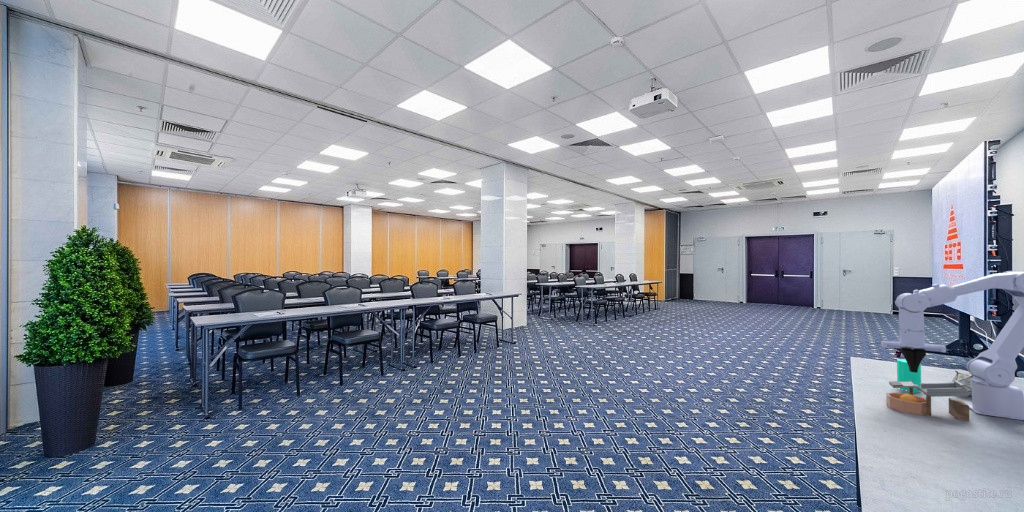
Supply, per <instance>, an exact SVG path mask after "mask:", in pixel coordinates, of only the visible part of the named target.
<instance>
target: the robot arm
mask: <svg viewBox="0 0 1024 512" xmlns="http://www.w3.org/2000/svg"><path fill="white" fill-rule="evenodd" d="M991 289H999V290H1001V289H1002V290H1003V291H1005V292H1007V293H1008V294H1009V295H1011V296H1012V297H1013V298H1014V299H1015V301H1016V302H1017V304H1018V305H1017V308H1016V309H1015V310H1014V312H1013V313H1012V315H1011V316H1010V317H1009V319H1008V321H1007V322H1006V323H1005V325H1004V327H1003V328H1002V329H1001V330H1000V332H999V333H998V334H997V336H996V338H995V339H994V340H993V342H992V344H991V345H990V346H989V348H988V349H986V350H983V351H982V352H979V353H978V355H977V356H976V357H975V358H972V359H971V360H969V361H968V362H967V364H966V370H967V371H968V372H969V373H968V374H971V375H973V377H972V395H971V396H972V397H971V400H972V403H971V404H968V403H967V404H968V405H969V410H972V411H973V412H974V413H976V414H977V415H984V416H991V417H998V418H1005V419H1006V418H1007V419H1012V420H1019V421H1024V393H1023V389H1021V387H1018V386H1014V385H1012V383H1013V382H1014V381H1015V378H1016V376H1015V373H1016V370H1017V369H1018V365H1017V362H1016V358H1017V357H1018V356H1019V354H1020V353H1021V352H1022V350H1023V349H1024V271H1017V270H1007V271H1003V272H998V273H992V274H989V275H985V276H981V277H979V278H974V279H971V280H969V281H966V282H961V283H958V284H954V285H952V286H951V285H948V284H947V285H946V284H939V283H934V284H931V287H927V288H923V289H914V290H913V291H912V292H913V293H910V292H905V293H901V294H899V295H898V296H897V297H896V300H894V304H895V306H896V307H897V308H898V327H899V328H898V330H899V332H898V333H899V341H892V340H891V341H890V340H881V341H880V344H881V347H882V348H883V349H884V348H885V349H886V348H891V349H899V351H900V352H901V354H902V356H903V357H904V359H906V361H907V364H908V366H909V371H911V372H915V373H917V371H918V367H919V365H920V363H921V364H922V361H923V359H924V358H925V357H926V355H927V352H926V351H929V352H940V353H947V345H943V344H935V343H934V344H933V343H926V336H925V335H926V333H925V316H924V315H925V314H924V311H925V310H926V309H927V308H932V307H935V306H940V305H944V304H948V303H952V302H955V301H956V299H957V298H958V297H959V296H964V295H969V294H972V293H977V292H978V293H979V292H982V291H987V290H991Z"/></svg>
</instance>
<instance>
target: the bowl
mask: <svg viewBox="0 0 1024 512" xmlns="http://www.w3.org/2000/svg"><path fill="white" fill-rule="evenodd" d="M904 394H905V393H902V392H886V396H885V397H886V405H887V406H888V408H890V409H892V410H896V411H898V412H902V413H905V414H913V415H919V416H925V415H926V416H927V413H926V397H921V396H919V395H914V394H913V395H912V396H914V397H915V398H916V399H917V401H918V402H911V401H904V400H901V399H899V398H900V396H902V395H904ZM908 394H909V393H908ZM909 395H911V394H909Z"/></svg>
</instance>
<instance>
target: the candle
mask: <svg viewBox="0 0 1024 512" xmlns="http://www.w3.org/2000/svg"><path fill="white" fill-rule="evenodd" d="M896 376H897V377H896V378H897V379H896V380H897V381H899V382H909V381H912V382H913V384H914V385H918V386H919V387H921V385H920V383H922V362H921V363H920V365H919V367H918V371H917V373H915V372H911V371H909V366H908V364H907V361H906V359H905V358H903V359H902V358H897V359H896ZM901 389H903V390H902V391H904V390H907V391H906V392H909V388H900V389H899V390H901ZM913 393H922V392H921V391H920V390H918V389H916V388H913Z"/></svg>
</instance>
